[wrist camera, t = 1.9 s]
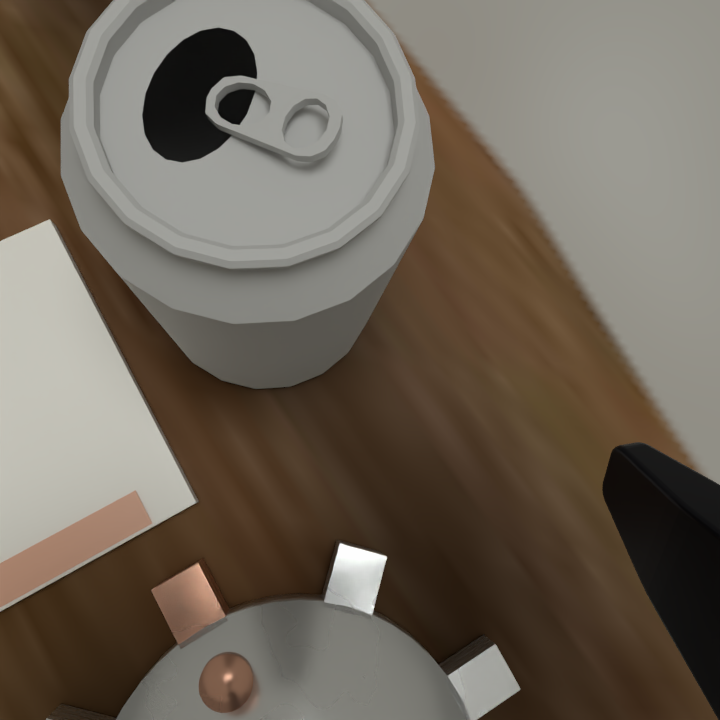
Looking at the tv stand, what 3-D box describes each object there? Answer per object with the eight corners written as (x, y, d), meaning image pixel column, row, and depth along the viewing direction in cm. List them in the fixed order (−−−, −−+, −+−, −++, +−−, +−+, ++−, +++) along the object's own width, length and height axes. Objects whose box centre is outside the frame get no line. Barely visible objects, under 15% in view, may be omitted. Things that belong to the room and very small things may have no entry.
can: (215, 162, 23) (144, -153, 12) (399, 242, 24) (512, 14, 12) (124, 342, 22) (-65, 189, 10) (322, 425, 22) (365, 371, 10)
